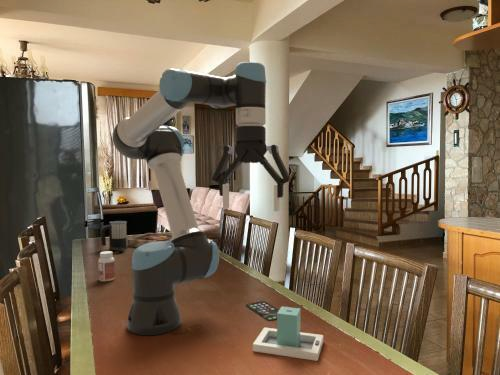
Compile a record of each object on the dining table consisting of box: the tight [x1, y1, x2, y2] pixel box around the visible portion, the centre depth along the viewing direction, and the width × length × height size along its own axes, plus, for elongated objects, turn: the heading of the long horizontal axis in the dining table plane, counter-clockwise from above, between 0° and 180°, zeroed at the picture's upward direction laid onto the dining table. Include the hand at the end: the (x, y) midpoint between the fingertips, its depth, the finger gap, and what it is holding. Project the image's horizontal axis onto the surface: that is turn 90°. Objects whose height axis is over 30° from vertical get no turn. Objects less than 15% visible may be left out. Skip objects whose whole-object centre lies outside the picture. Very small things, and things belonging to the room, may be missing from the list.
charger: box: [276, 306, 302, 348], centre depth 100 cm, size 5×5×9 cm
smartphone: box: [245, 300, 280, 322], centre depth 124 cm, size 7×1×15 cm
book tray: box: [127, 232, 172, 248], centre depth 227 cm, size 24×22×4 cm
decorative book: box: [143, 235, 171, 241], centre depth 226 cm, size 11×16×5 cm
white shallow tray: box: [252, 326, 324, 362], centre depth 100 cm, size 16×10×2 cm, turn 72°
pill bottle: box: [97, 250, 116, 282], centre depth 158 cm, size 6×6×11 cm
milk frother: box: [99, 220, 128, 253], centre depth 211 cm, size 14×16×15 cm
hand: (250, 209), depth 101 cm, fingers open, 13 cm apart
